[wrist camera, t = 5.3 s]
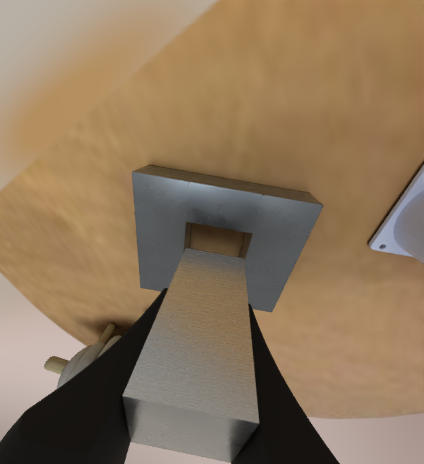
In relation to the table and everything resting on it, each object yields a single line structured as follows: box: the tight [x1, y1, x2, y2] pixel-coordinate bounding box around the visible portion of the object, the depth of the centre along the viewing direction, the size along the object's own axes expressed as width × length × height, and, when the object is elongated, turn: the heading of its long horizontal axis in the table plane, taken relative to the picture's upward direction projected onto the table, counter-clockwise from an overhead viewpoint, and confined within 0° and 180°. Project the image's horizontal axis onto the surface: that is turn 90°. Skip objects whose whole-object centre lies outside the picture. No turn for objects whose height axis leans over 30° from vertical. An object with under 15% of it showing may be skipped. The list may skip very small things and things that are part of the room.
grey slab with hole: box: [132, 165, 324, 312], centre depth 17 cm, size 14×12×3 cm
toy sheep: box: [44, 324, 122, 389], centre depth 25 cm, size 11×17×11 cm, turn 75°
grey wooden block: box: [123, 248, 259, 463], centre depth 10 cm, size 4×4×8 cm
